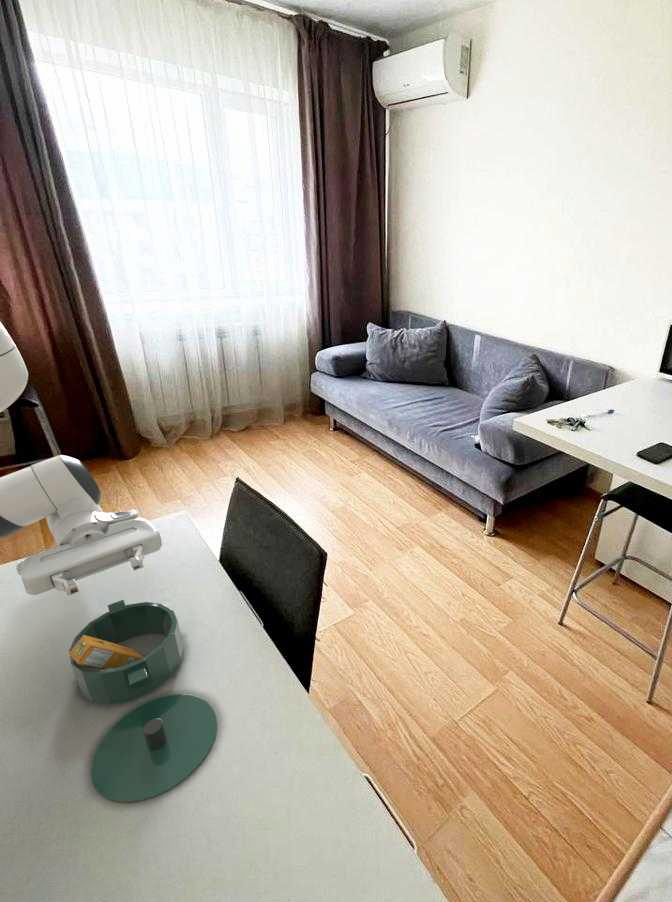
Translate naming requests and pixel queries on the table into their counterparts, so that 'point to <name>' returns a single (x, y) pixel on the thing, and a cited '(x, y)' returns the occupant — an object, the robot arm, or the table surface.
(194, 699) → the pot lid
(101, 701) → the pot
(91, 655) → the supplement box
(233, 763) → the table surface
